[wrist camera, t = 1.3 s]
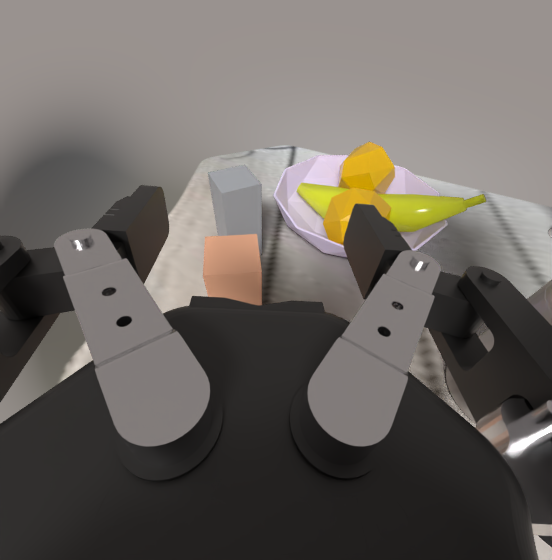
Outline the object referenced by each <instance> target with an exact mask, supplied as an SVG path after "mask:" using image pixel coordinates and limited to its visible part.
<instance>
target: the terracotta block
mask: <svg viewBox="0 0 552 560" xmlns="http://www.w3.org/2000/svg"><path fill="white" fill-rule="evenodd" d="M203 278H204V282H205V286H206V290H207V293H208V297H223V298H229V299H233V300H237V301H241V302H245V303H250V304H254V305H262V270H261V262H260V254H259V246H258V238H257V234H247V235H229V236H210V237H205V249H204V267H203Z"/></svg>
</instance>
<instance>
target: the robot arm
mask: <svg viewBox="0 0 552 560" xmlns="http://www.w3.org/2000/svg"><path fill="white" fill-rule="evenodd" d="M168 234H169V221H168V215H167V209H166V203H165V198H164V193H163V190H162V188H161V187H157V186H144V185H141V186H139V188H138V189H137V190H136V191H135V192H134V193H133V194H132V195H131V196H130V197H128V196H127V197H125V198H123V199H121V200H119V201H117V202H116V203H115V204H114V205H113V206H112V207H111V208H110V209H109V210H108V211H107V212H106V214H105V215H103V217H102V218H101V219H100V220H99V221H98V222H97V223H96V224H95V225H94V226H93V227H92V228H91V229H79V230H74V231H71V232H68V233H66V234H64V235H62V236H60V237H59V238H58V239H57V240H56V241H55V243H54V247H53V248H44V249H35V250H26V248H25V247H24V245H23V243H22V242H21V240H20V239H18V238H16V237H13V236H0V402H1V400H2V399H3V398H4V396H5V395H6V393H7V392H8V390H9V389H10V387H11V386H12V384H13V383H14V381H15V380H16V378H17V377H18V375H19V374H20V372H21V371H22V369H23V368H24V366H25V365H26V363H27V362H28V360H29V359H30V357H31V356H32V354H33V353H34V351H35V350H36V349H37V347H38V346H39V344H40V343H41V341H42V340H43V338H44V337H45V335H46V333H47V332H48V331H49V329H50V328H51V326H52V324H53V323H54V322H55V320H56V319H57V317H58V315H59V314H60V313H62V312H68V311H74V310H75V312H76V314H77V317H78V320H79V323H80V325H81V328H82V331H83V333H84V336H85V339H86V342H87V344H88V347H89V350H90V353H91V355H92V358H93V360H92V361H91V362H89V363H88V364H87V365H85V366H84V367H82V368H81V369H79V370H78V371H76V372H75V373H73V374H72V375H71V376H69V377H68V378H66V379H65V380H63V381H62V382H60V383H59V384H58V385H56V386H55V387H53V388H52V389H50V390H49V391H47V392H46V393H44V394H43V395H42V396H40V397H39V398H37V399H36V400H34V401H33V402H32V403H30V404H28V405H27V406H26V407H24V408H23V409H21V410H20V411H18V412H17V413H15V414H14V415H13V416H11V417H10V418H8V419H7V420H6V421H4V422H3V423H1V424H0V560H539V559H538V555H537V551H536V546H535V542H534V536H533V535H538V536H539V537H540V538H541V539H542V540H544V541H545V542H546V543H547V544H548V545H550V546H551V547H552V280H550V281H549V282H548V283H547V284H545V285H544V286H543V287H541V288H540V289H539V290H538V291H536V292H535V293H534V294H533V295H531V296H530V297H529V298H527V299H526V298H525V297H524V296H523V295H522V294H521V293H520V292H519V291H518V290H517V289H516V288H515V287H514V286H513V285H512V284H511V283H510V282H509V281H508V280H507V279H506V278H505V277H503V276H502V275H500V274H498V273H497V272H495V271H492V270H490V269H487V268H483V267H476V266H474V267H469V268H468V269H467V270H466V271H465V273H464V274H463V275H462V277H460V276H456V275H452V274H448V273H444V272H441V266H440V264H439V263H438V262H437V261H436V260H435V259H434V258H432V257H431V256H429V255H427V254H424V253H422V252H418V251H413V250H412V249H411V248H410V246H409V245H408V244H407V242H406V241H405V240H404V238H403V237H401V236H402V235H401V234H400V233H399V231H398V230H397V228H396V227H395V226H394V224H393V223H392V222H390V221H389V220H387V219H386V218H385V217H382V216H381V214H380V213H379V211H378V210H377V208H376V207H375V206H374V205H370V204H358V203H356V204H355V205H354V207H353V209H352V212H351V216H350V219H349V222H348V225H347V229H346V232H345V235H344V242H343V246H344V250H345V253H346V255H347V258H348V260H349V263H350V265H351V268H352V271H353V273H354V276H355V278H356V281H357V283H358V286H359V288H360V291H361V294H362V296H363V299H366V300H365V302H364V303H363V305H362V306H361V308H360V309H359V311H358V312H357V314H356V315H355V317H354V318H353V320H352V321H351V323H349V322H348V321H346V320H344V319H342V318H340V317H338V316H336V315H333V314H330V313H327V312H324V308H323V303H322V302H306V301H287V302H280V303H273V304H266V305H254V304H250V303H245V302H241V301H237V300H233V299H229V298H223V297H202V296H192V298H191V302H190V305H189V306H185V307H180V308H176V309H173V310H170V311H168V312H165V313H163V314H162V312H161V310H160V309H159V307H158V306H157V304H156V303H155V301H154V300H153V298H152V297H151V295H150V293H149V292H148V290H147V289H146V287H145V286H144V283H145V281H146V279H147V277H148V275H149V273H150V271H151V269H152V267H153V265H154V263H155V261H156V259H157V257H158V255H159V253H160V251H161V249H162V247H163V245H164V243H165V241H166V239H167V237H168ZM484 323H485V324H486V325H487V327H488V328H489V329H488V330H487V331H485V332H484V333H483V334H482V335H480V336H479V337H478V336H477V334H476V333H475V332H476V331H477V330H478V329H479V328H480V327H481V326H482V325H483V324H484ZM424 327H426V328H428V329H429V331H430V333H431V335H432V337H433V339H434V341H435V343H436V345H437V347H438V349H439V351H440V353H441V355H442V357H443V359H444V361H445V363H446V365H447V368H446V380H447V385H448V388H449V391H450V393H451V395H452V397H453V399H454V400H455V402H456V403H457V405H458V406H459V407H460V409H461V410H462V411H463V412H464V413H465V414H466V415H467V416H468V417H469V418H470V419H471V420H472V421H473V422H475V423H476V428H475V427H473V426H472V425H471V424H470V423H469V422H468V421H466V420H465V419H464V418H463V417H462V416H460V415H459V414H458V413H457V412H456V411H455V410H453V409H452V408H451V407H450V406H449V405H447V404H446V403H445V402H444V401H443V400H442V399H440V398H439V397H438V396H437V395H436V394H434V393H433V392H432V391H431V390H430V389H429V388H427V387H426V386H425V385H424V384H423V383H421V382H420V381H419V380H418V379H417V378H416V377H414V376H413V375H412V374H411V373H410V372H408V369H409V366H410V363H411V361H412V358H413V355H414V352H415V350H416V347H417V344H418V341H419V339H420V336H421V333H422V331H423V328H424Z"/></svg>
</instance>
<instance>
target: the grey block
mask: <svg viewBox="0 0 552 560" xmlns="http://www.w3.org/2000/svg"><path fill="white" fill-rule="evenodd" d="M208 177H209V183H210V189H211V195H212V201H213V207H214V214H215V220H216V226H217V232H218V236H229V235H247V234H257V238H258V246H259V254H260V255H262V184H261V183H260V181H259V180H258V179H257V178H256V177H255V176H254V174H253V173H252V172H251V171H250V170H249V169H248V168H247V166H246V165H241V166H236V167H232V168H227V169H222V170H217V171H213V172H208Z"/></svg>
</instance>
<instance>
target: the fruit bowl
mask: <svg viewBox="0 0 552 560" xmlns="http://www.w3.org/2000/svg"><path fill="white" fill-rule="evenodd" d="M273 196H274V198H275V200H276V202H277V204H278V207H279V209H280V211H281V213H282V215H283V218H284V220H285V222H286V224H287V226H288V227H289V228H291V229H292V230H293V231H295V232H296V233H298V234H299V235H300V236H302V237H303V238H304V239H306V240H307V241H308V242H310V243H311V244H312V245H314V246H315V247H316V248H318V249H319V250H320V251H322V252H323V253H327V254H332V255H337V256H342V257H347V255H346V253H345V250H344V246H343V242H344V235H345V232H346V229H347V225H348V222H349V219H350V216H351V212H352V209H353V207H354V205H355V204H356V203H358V204H370V205H374V206H375V207H376V208H377V210H378V211H379V213H380V214H381V216H382V217H385V218H386V219H387V220H389V221H390V222H392V223H393V224H394V226H395V227H396V228H397V230H398V231H399V233H400V234H401V235H402V236H401V237H403V238H404V240H405V241H406V242H407V244H408V245H409V246H410V248H411V249H412V250H413V251H416V250H417V249H419V248H420V247H421V246H422V245H424V244H425V243H426V242H427V241H429V240H430V239H431V238H432V237H433V236H435V235H436V234H437V233H438V232H440V231H441V230H442V229H443V228H445V227H446V226H447V225H448V224H447V220H446V219H447V218H449V217H451V216H454V215H456V214H459V213H461V212H464V211H466V210H467V208H468V207H471V206H475V205H478V204H481V203H484V202H486V198H485V195H484V194H482V195H479V196H476V197H473V198H470V199H467V200H464V198H458V197H445V196H440V193H439V192H437V191H436V190H434V189H433V188H432V187H430V186H429V185H428V184H426V183H425V182H424V181H422V180H421V179H419V178H418V177H417V176H415V175H414V174H413V173H411V172H410V171H408V170H407V169H406V168H403V167H399V166H396V165H393V163H392V162H391V160H390V159H389V157H388V155H387V154H386V152H385V151H384V149H383V147H381V146H378V145H376V144H374V143H371V142H368V143H366V144H364V145H362V146H359V147H357V148H356V149H354V150H353V152H351V154H350V155H318V156H315V157H313V158H310V159H308V160H305V161H303V162H300V163H298V164H295V165H293V166H290V167H288V168H286V169H285V170H284V172H283V174H282V176H281V179H280V181H279V183H278V185H277V188H276V190H275V192H274V194H273Z"/></svg>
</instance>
